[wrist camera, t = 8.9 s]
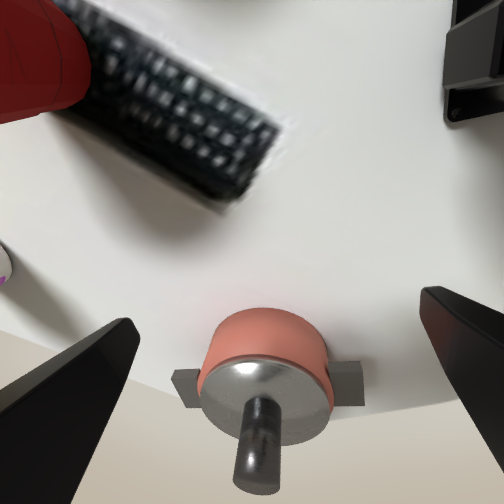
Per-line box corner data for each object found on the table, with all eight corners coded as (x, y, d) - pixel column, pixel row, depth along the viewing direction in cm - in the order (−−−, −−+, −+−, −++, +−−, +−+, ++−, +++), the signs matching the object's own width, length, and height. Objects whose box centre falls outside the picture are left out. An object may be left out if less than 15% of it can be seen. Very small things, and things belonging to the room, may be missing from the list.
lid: (320, 349, 19) (333, 437, 14) (333, 435, 24) (346, 526, 18) (186, 357, 21) (152, 435, 16) (221, 434, 26) (204, 514, 21)
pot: (348, 298, 23) (362, 342, 18) (355, 387, 28) (368, 438, 23) (175, 315, 26) (151, 355, 22) (209, 391, 31) (196, 436, 27)
